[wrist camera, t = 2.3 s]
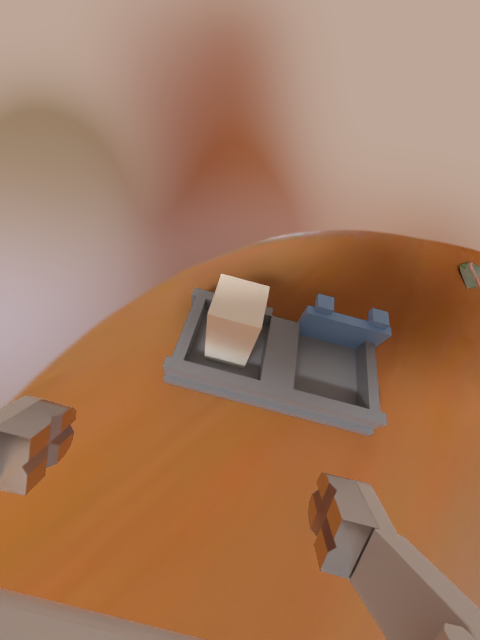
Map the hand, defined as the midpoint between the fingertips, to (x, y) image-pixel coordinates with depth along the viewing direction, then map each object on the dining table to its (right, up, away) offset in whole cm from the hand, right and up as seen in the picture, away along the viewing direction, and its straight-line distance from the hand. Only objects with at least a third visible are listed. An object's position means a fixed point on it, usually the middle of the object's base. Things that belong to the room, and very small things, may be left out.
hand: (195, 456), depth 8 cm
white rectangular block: (0, +2, +18) cm, 18 cm away
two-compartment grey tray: (+5, 0, +19) cm, 19 cm away
